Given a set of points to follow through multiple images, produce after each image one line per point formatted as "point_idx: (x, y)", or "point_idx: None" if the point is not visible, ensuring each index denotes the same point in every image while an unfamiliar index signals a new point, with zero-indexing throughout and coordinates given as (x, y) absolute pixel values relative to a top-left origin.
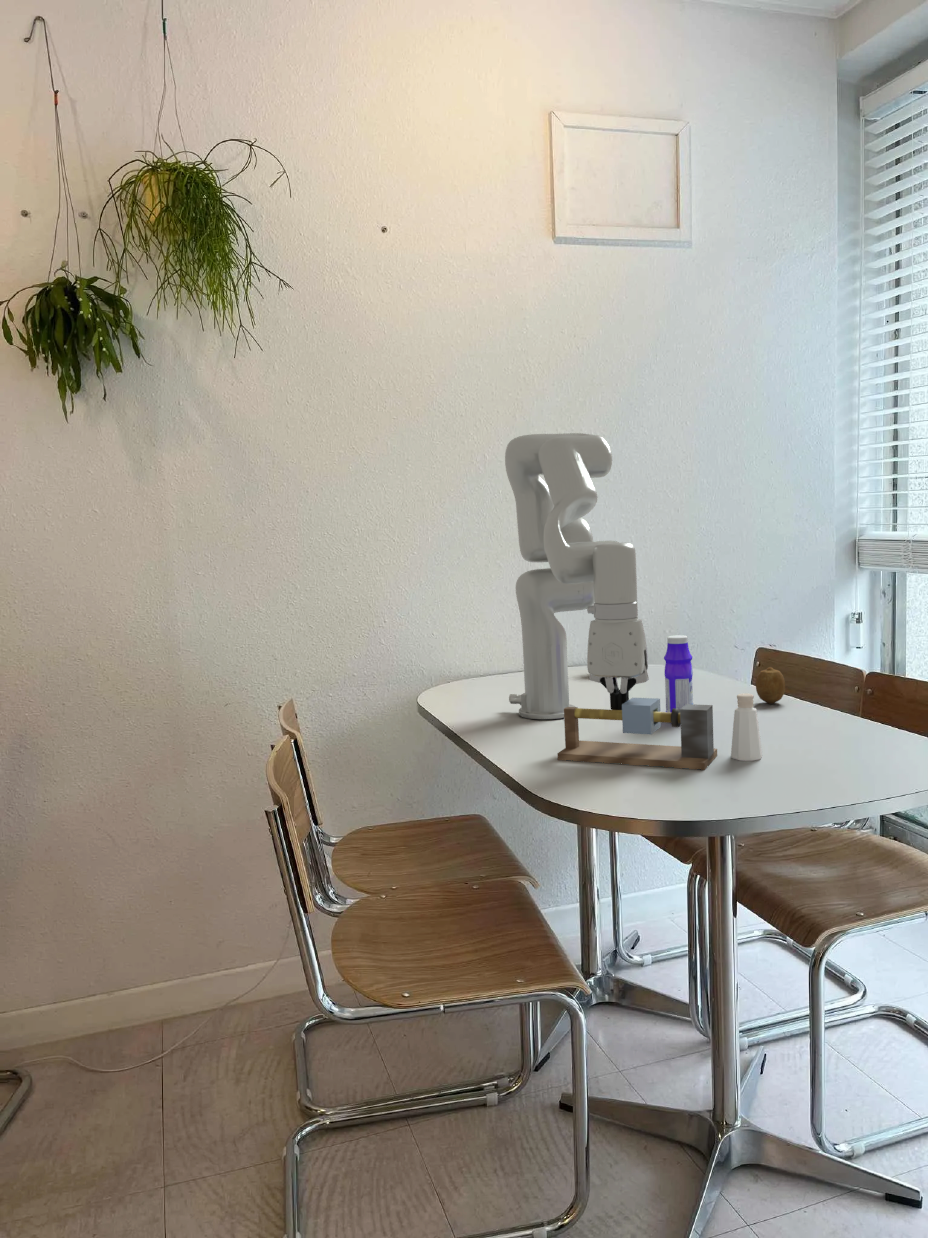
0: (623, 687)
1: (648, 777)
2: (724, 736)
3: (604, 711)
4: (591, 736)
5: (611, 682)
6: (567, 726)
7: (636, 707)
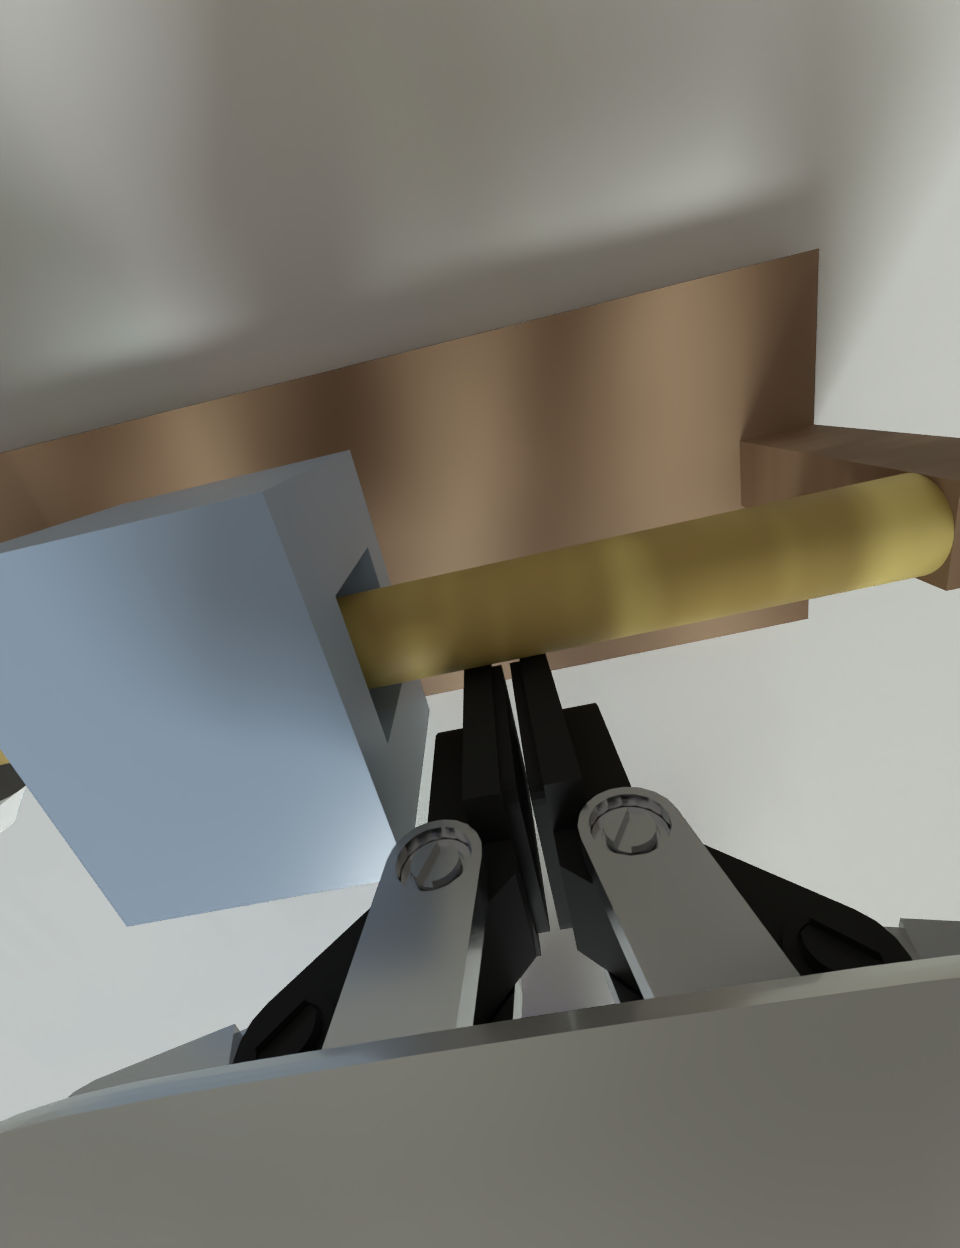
0: (422, 895)
1: (16, 136)
2: (264, 984)
3: (598, 575)
4: (785, 797)
5: (641, 934)
6: (901, 440)
7: (79, 530)
